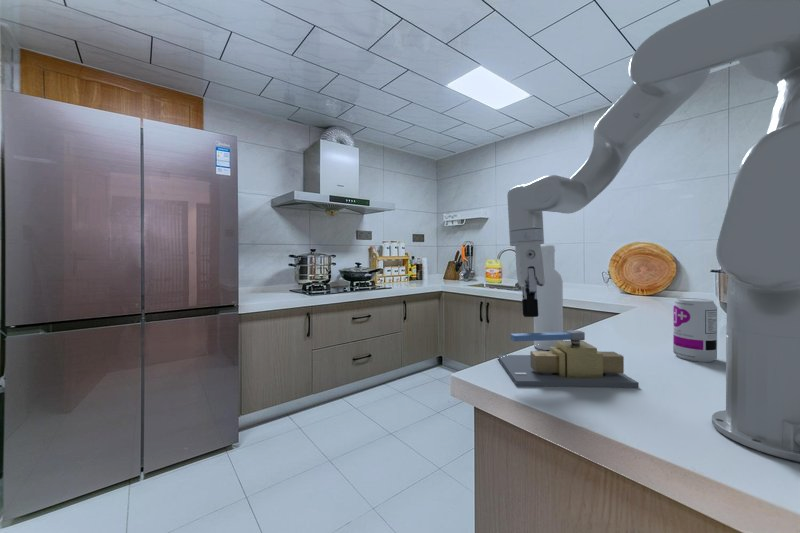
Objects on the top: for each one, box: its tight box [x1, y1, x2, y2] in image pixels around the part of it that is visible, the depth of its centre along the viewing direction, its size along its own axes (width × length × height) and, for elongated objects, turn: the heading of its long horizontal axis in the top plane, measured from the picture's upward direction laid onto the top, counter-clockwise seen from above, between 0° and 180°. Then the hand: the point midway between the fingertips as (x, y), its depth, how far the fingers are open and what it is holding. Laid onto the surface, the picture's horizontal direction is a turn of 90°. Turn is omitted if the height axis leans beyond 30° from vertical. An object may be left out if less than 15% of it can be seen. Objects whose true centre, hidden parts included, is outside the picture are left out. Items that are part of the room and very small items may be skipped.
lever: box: [510, 329, 586, 342], centre depth 70 cm, size 16×4×1 cm, turn 92°
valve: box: [529, 340, 625, 378], centre depth 70 cm, size 6×18×8 cm, turn 85°
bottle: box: [533, 244, 564, 351], centre depth 93 cm, size 8×8×30 cm
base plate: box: [496, 354, 640, 389], centre depth 74 cm, size 18×24×1 cm
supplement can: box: [672, 297, 718, 363], centre depth 82 cm, size 8×8×15 cm
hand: (530, 316), depth 75 cm, fingers closed
